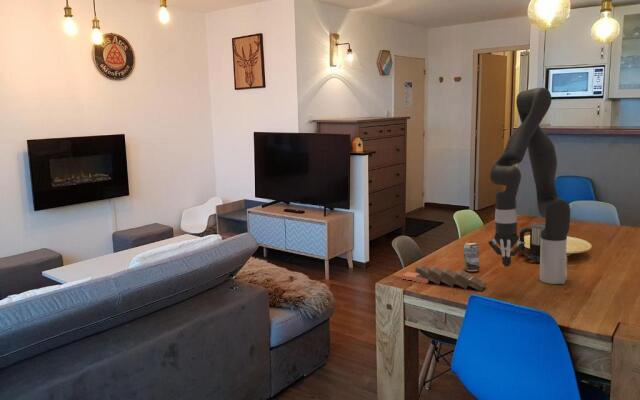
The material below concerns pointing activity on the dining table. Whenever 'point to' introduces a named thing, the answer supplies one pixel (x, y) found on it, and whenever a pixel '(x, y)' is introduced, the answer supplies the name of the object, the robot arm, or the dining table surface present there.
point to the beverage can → (471, 257)
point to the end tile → (415, 277)
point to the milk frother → (533, 240)
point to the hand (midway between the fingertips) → (506, 265)
